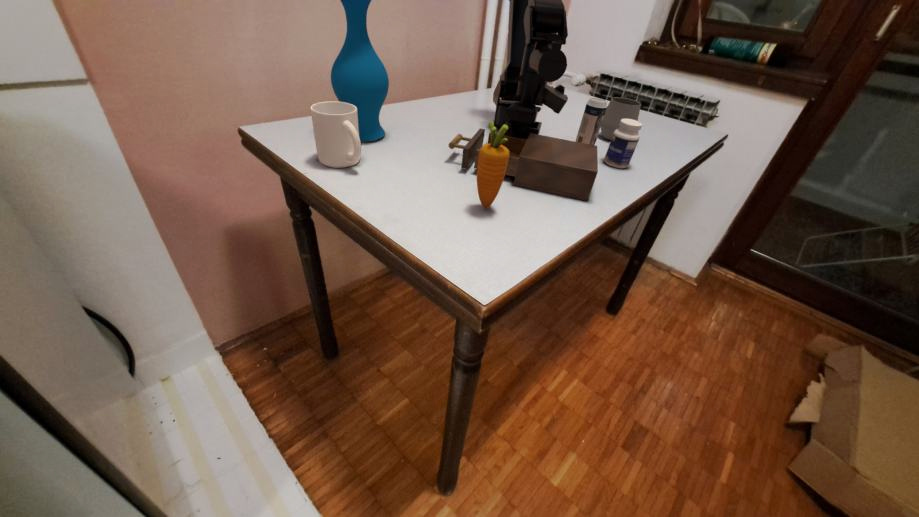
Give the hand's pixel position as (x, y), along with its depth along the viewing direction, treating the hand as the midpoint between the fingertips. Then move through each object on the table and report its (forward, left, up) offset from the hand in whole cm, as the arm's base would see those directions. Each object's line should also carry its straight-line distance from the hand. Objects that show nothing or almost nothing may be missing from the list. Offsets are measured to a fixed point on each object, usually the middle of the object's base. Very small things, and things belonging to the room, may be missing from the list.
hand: (519, 141), depth 89 cm
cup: (+17, +27, -2) cm, 32 cm away
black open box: (0, 0, -2) cm, 2 cm away
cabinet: (+13, -11, -2) cm, 17 cm away
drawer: (0, -15, -1) cm, 15 cm away
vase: (-31, -21, -2) cm, 37 cm away
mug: (-23, -35, -2) cm, 42 cm away
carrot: (+8, -32, -2) cm, 33 cm away
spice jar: (+13, +11, -2) cm, 17 cm away
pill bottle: (+22, +8, -2) cm, 24 cm away
